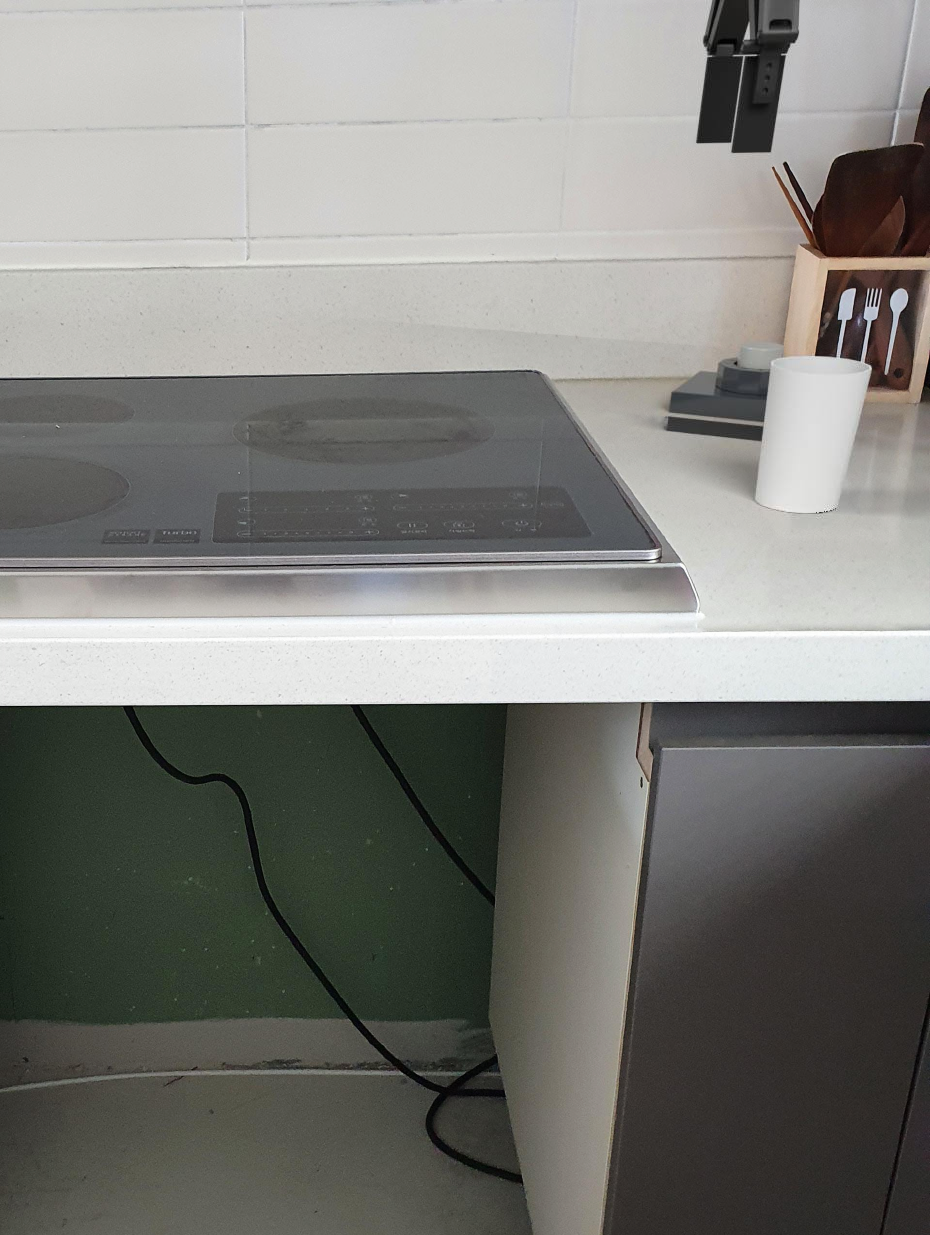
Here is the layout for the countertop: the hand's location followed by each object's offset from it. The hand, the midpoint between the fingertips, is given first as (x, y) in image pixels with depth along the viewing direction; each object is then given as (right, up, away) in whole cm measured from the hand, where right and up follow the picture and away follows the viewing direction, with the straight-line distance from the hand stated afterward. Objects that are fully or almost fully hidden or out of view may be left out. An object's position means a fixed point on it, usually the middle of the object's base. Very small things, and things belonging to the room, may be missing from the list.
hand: (731, 148), depth 107 cm
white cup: (+2, -30, -7) cm, 30 cm away
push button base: (+7, -19, +14) cm, 24 cm away
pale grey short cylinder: (+7, -15, +11) cm, 20 cm away
